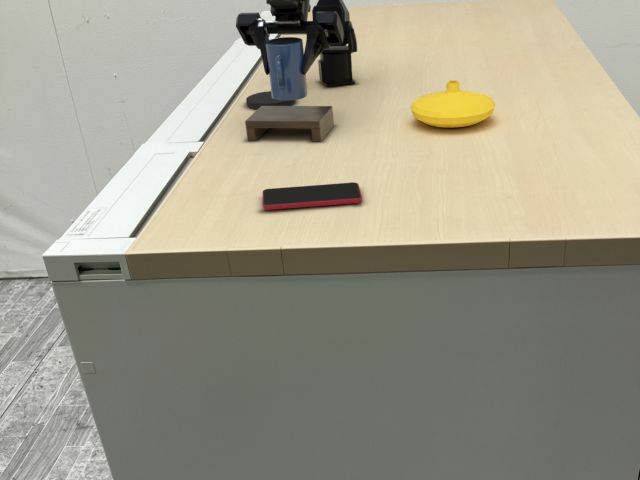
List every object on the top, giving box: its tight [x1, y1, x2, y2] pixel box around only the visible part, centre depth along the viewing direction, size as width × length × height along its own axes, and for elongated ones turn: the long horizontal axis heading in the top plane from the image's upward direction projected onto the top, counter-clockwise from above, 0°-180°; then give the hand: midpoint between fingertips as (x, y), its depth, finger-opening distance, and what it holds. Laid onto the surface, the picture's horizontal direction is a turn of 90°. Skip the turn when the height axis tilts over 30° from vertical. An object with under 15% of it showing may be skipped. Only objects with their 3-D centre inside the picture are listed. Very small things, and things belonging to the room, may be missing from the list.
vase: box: [410, 79, 496, 128], centre depth 152 cm, size 16×16×7 cm
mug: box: [265, 36, 309, 101], centre depth 148 cm, size 8×7×9 cm
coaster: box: [245, 90, 296, 111], centre depth 171 cm, size 10×10×1 cm
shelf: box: [244, 105, 335, 143], centre depth 153 cm, size 10×14×4 cm
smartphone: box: [262, 182, 363, 211], centre depth 126 cm, size 7×1×15 cm
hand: (284, 73), depth 148 cm, fingers closed on mug, 6 cm apart
